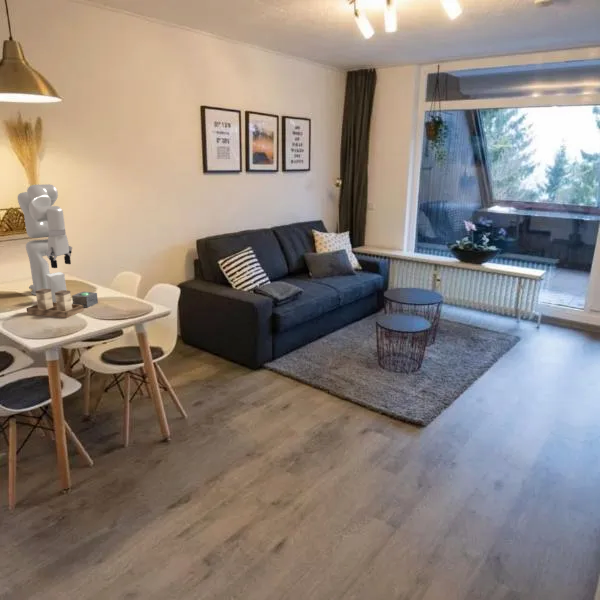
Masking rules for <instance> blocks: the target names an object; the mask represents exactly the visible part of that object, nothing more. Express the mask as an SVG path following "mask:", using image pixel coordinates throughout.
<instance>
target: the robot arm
mask: <svg viewBox="0 0 600 600" xmlns="http://www.w3.org/2000/svg"><path fill="white" fill-rule="evenodd" d="M57 189H58V188H57V187H55V185H53V184H51V183H50V184H49V183H48V184H46V183H45V184H32V185H30V186H28V187H27V189H26V191H24V192H20V193H18V195H17V203H18V205H19V207H20V209H21V211H22V213H23V218H24V225H25V231H26V234H27V236H28V238H31V239H35V240H29V241H28V242H27V243H25V250H26V253H27V256H28V260H29V261H28V262H29V266H30V272H31V279H32V284H30V286H28V288H29V289H30V290H31V289H32V290H31V292H30V293H31V295H33V296H36V290H39V289H42V288H44V289H48V285H47V279H46V274H51V273H50V268H52V269H58V261H57V258H58V257H59V256H63V255H64V256H63V259H64V264H65V265H71V263H72V261H71V256H72V253H73V252H72V250H73V246H71V245H70V244H69V240H68V237H67V233H66V225H65V217H64V216H65V215H64V210H63V208H61V206H58V205H54V204H55V203H56V201H57V199H58V198H59V197H58V196H59V195H58V190H57ZM38 238H39V239H38ZM41 238H45V239H41ZM46 238H47V239H46ZM44 257H47V258H48V259H49V261H50V266H51V267H50V266H49V263H48V261H47V259H46V258H44Z"/></svg>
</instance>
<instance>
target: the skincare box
mask: <svg viewBox="0 0 600 600" xmlns="http://www.w3.org/2000/svg"><path fill="white" fill-rule="evenodd" d="M46 279H47V285H48V289H51V294H52V302H56V297H55V292H58V291H61V290H66V291H68V290H67V285H66V284H67V282H66V277H65V273H63V272H62V271H57V272H53V273H50V274H46Z"/></svg>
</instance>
